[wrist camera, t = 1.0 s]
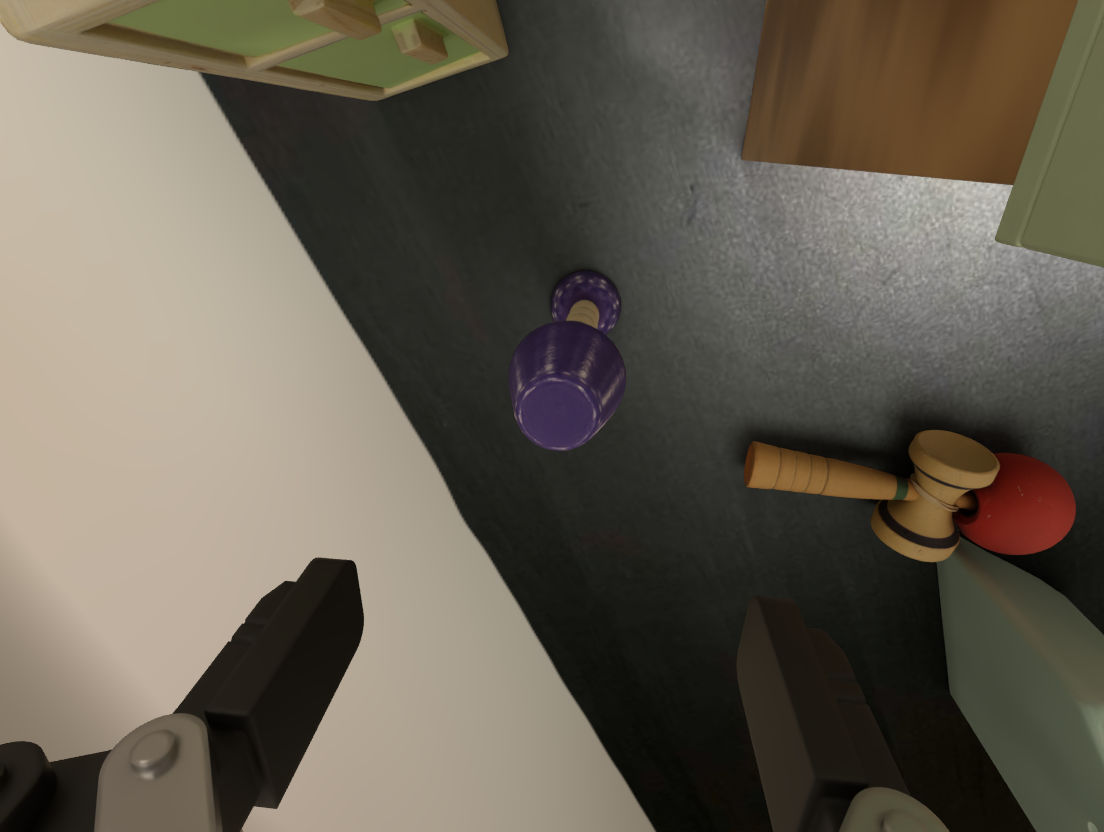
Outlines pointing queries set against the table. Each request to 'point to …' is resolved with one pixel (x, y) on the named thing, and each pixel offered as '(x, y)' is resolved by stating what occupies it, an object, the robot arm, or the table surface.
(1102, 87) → the box
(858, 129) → the stand
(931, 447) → the kendama
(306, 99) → the table surface
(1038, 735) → the planter
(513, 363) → the toy lamp
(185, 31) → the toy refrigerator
